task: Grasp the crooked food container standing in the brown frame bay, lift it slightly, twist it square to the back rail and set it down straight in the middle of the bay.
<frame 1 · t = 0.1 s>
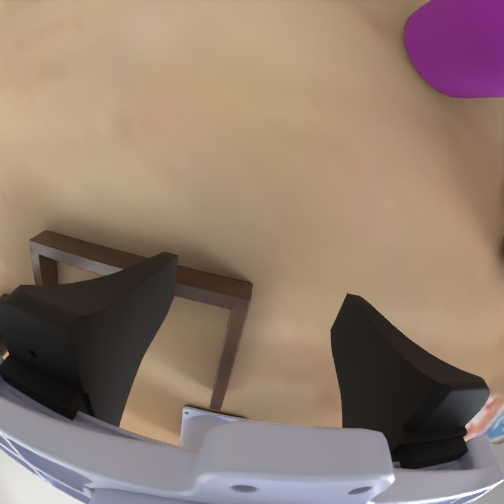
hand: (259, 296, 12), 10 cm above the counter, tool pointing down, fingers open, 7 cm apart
brown frame: (132, 323, 26), on the counter
wine bottle: (14, 312, 28), on the counter
beverage can: (440, 53, 15), on the counter
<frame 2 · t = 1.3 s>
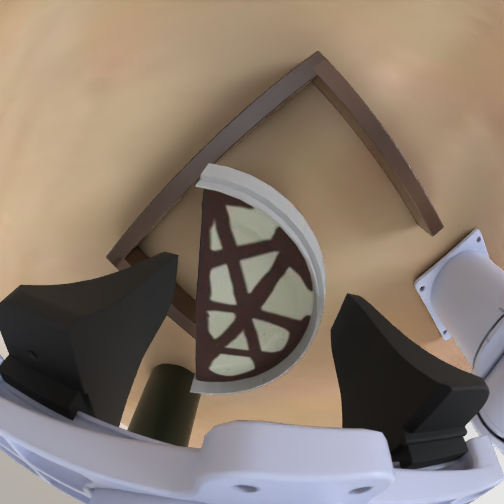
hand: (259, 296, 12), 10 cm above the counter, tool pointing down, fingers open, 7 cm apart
brown frame: (275, 231, 21), on the counter
food container: (265, 239, 22), on the counter
wine bottle: (176, 380, 29), on the counter
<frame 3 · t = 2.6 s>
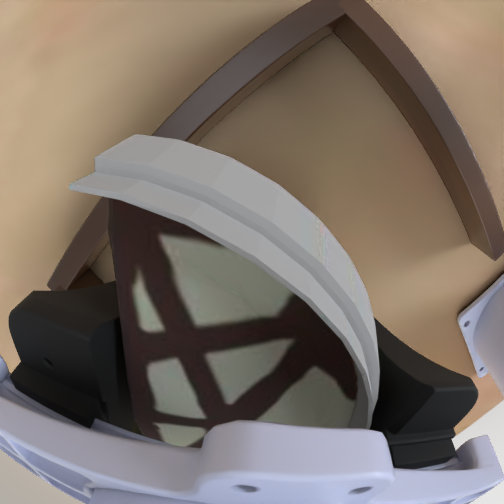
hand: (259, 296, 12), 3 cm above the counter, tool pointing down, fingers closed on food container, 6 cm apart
brown frame: (278, 252, 14), on the counter
food container: (262, 263, 15), on the counter, touching gripper
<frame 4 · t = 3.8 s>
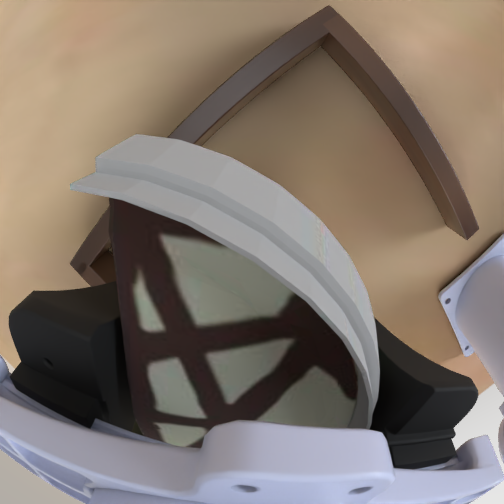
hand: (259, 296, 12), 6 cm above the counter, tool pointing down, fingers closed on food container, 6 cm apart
brown frame: (275, 232, 17), on the counter
food container: (263, 263, 15), point 3 cm above the counter, touching gripper
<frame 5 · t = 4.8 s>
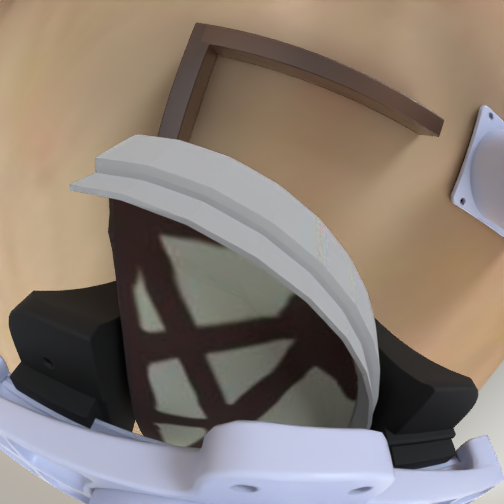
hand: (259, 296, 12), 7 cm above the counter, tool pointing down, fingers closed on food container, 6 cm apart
brown frame: (271, 222, 18), on the counter
food container: (263, 263, 15), point 4 cm above the counter, touching gripper
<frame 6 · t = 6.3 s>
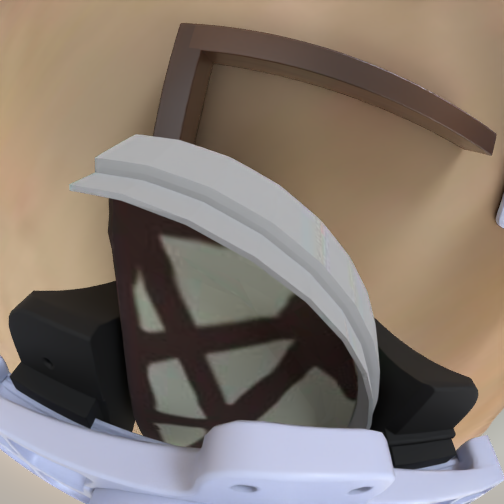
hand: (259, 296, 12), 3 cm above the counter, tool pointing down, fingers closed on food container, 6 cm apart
brown frame: (299, 269, 15), on the counter
food container: (263, 263, 15), on the counter, touching gripper
when the fingers open (3 cm above the counter, at t = 7.0 s): food container stays where it is, on the counter.
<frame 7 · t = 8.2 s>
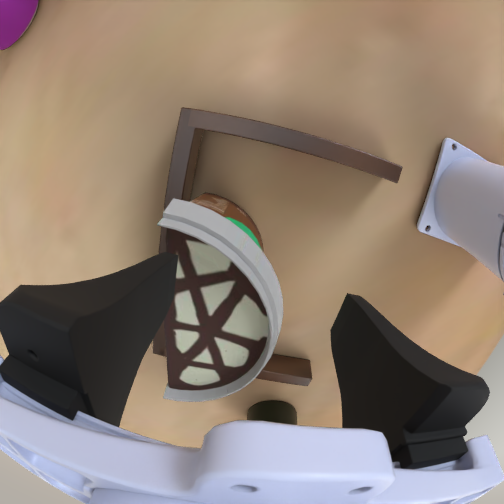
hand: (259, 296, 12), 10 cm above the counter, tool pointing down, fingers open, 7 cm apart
brown frame: (263, 263, 23), on the counter
food container: (238, 256, 23), on the counter
wine bottle: (272, 412, 31), on the counter
beverage can: (19, 18, 14), on the counter
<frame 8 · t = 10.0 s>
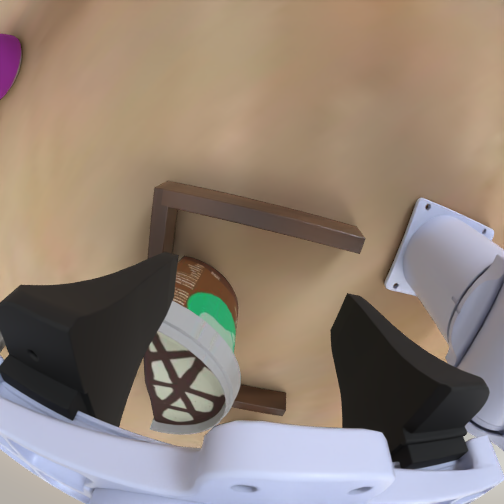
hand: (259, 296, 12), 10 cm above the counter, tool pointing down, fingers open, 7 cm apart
brown frame: (238, 315, 25), on the counter
food container: (216, 308, 25), on the counter
beverage can: (6, 68, 17), on the counter
beverage cup: (1, 327, 32), on the counter
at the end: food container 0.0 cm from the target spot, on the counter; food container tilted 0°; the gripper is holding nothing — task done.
